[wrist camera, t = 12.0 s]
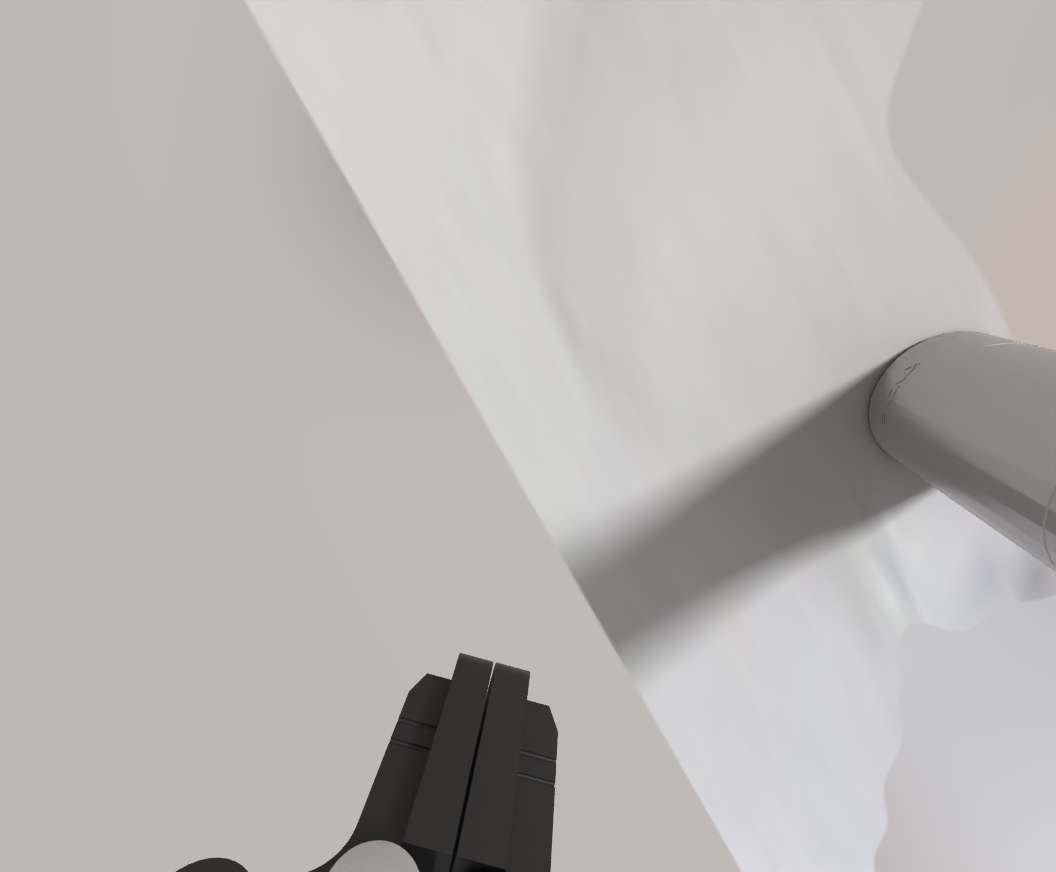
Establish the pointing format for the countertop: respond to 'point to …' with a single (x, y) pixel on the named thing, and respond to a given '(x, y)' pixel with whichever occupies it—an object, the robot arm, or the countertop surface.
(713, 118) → the countertop surface
